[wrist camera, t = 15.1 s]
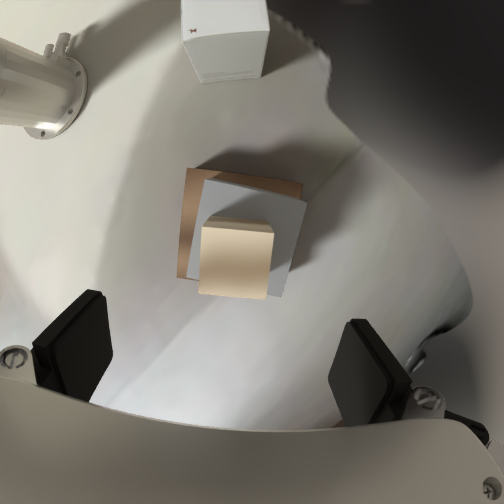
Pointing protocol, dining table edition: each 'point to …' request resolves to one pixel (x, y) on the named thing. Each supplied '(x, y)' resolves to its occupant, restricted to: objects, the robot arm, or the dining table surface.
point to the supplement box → (225, 37)
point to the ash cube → (235, 257)
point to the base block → (193, 197)
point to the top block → (255, 208)
